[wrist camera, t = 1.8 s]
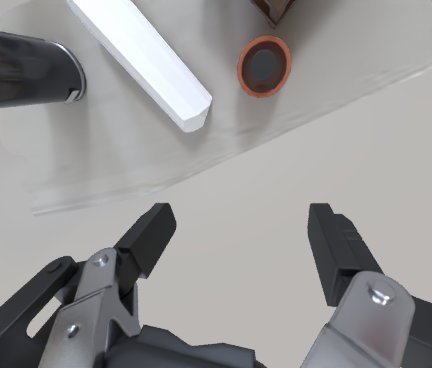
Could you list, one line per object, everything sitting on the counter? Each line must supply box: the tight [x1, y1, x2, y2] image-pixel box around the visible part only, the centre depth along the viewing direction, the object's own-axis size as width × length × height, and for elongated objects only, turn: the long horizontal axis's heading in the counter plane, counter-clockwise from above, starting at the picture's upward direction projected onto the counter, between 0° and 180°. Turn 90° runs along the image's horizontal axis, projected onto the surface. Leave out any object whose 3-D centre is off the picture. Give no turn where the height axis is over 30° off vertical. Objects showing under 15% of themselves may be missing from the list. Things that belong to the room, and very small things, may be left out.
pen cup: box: [237, 35, 291, 98], centre depth 24 cm, size 6×6×6 cm
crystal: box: [66, 0, 212, 133], centre depth 27 cm, size 7×7×24 cm
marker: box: [250, 50, 277, 80], centre depth 21 cm, size 2×2×11 cm
